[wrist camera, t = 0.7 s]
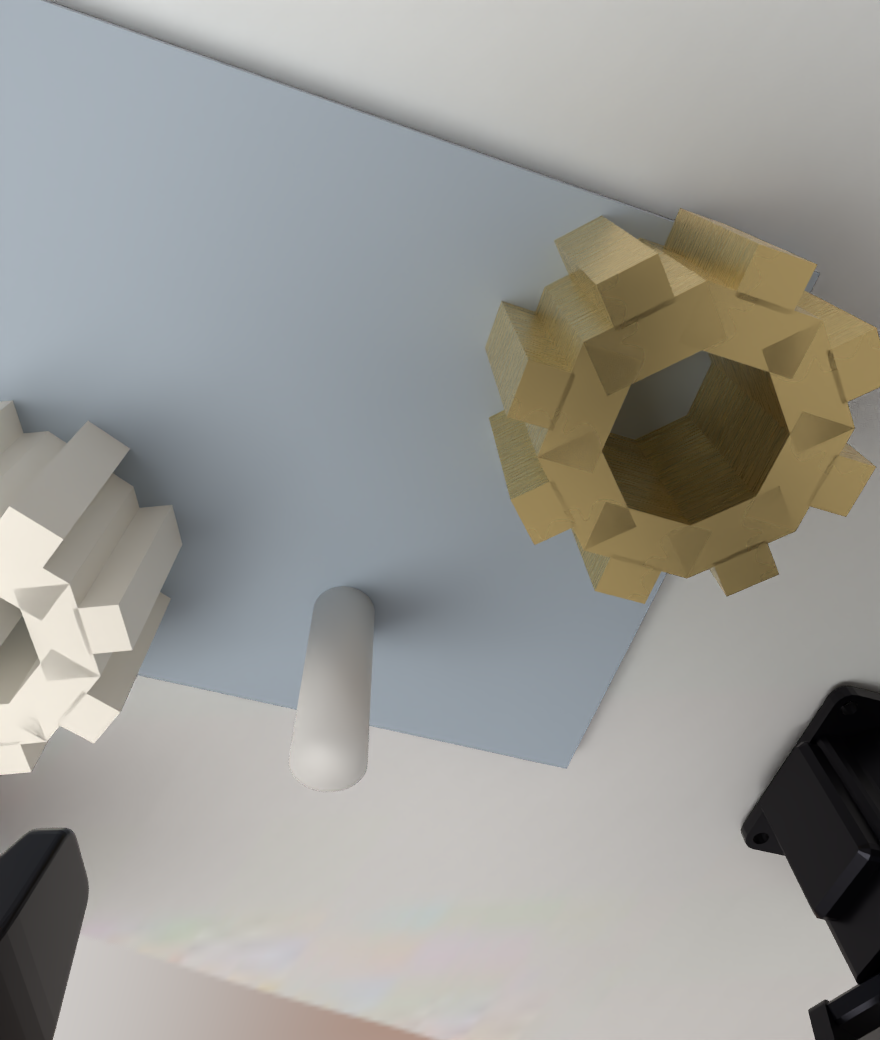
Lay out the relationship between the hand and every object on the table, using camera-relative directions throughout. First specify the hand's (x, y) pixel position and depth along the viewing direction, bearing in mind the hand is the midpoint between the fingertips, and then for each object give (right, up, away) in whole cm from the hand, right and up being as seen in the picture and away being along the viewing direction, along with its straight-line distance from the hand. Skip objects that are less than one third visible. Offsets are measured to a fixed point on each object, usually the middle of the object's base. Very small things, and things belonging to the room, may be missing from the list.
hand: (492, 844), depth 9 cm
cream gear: (-10, +3, +12) cm, 16 cm away
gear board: (-4, +6, +12) cm, 13 cm away
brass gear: (+4, +7, +10) cm, 13 cm away
